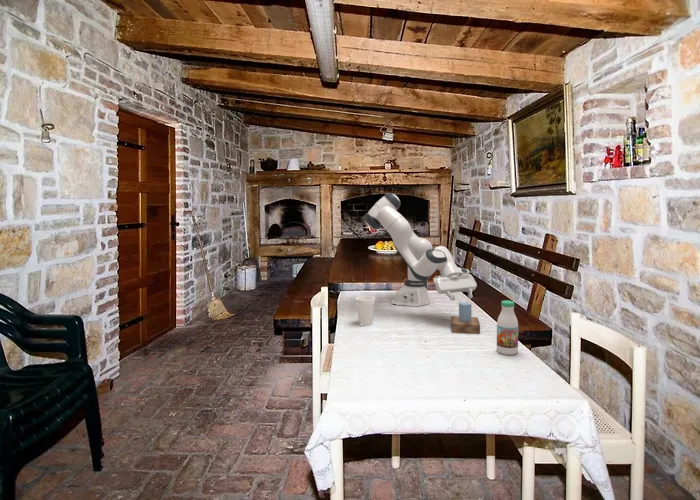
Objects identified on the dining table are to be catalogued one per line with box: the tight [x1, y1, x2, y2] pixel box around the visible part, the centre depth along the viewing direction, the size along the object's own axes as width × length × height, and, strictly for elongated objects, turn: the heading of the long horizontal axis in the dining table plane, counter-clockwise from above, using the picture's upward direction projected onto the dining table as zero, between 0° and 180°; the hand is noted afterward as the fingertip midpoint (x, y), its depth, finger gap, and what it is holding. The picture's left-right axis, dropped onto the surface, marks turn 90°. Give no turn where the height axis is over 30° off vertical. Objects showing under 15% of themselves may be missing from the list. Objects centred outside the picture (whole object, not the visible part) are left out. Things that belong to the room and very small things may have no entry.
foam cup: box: [355, 295, 376, 326], centre depth 190 cm, size 10×9×13 cm
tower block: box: [458, 301, 472, 322], centre depth 177 cm, size 4×4×8 cm
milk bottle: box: [496, 300, 519, 356], centre depth 149 cm, size 8×8×20 cm
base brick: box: [450, 316, 481, 335], centre depth 178 cm, size 12×12×4 cm
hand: (462, 298), depth 181 cm, fingers open, 8 cm apart
